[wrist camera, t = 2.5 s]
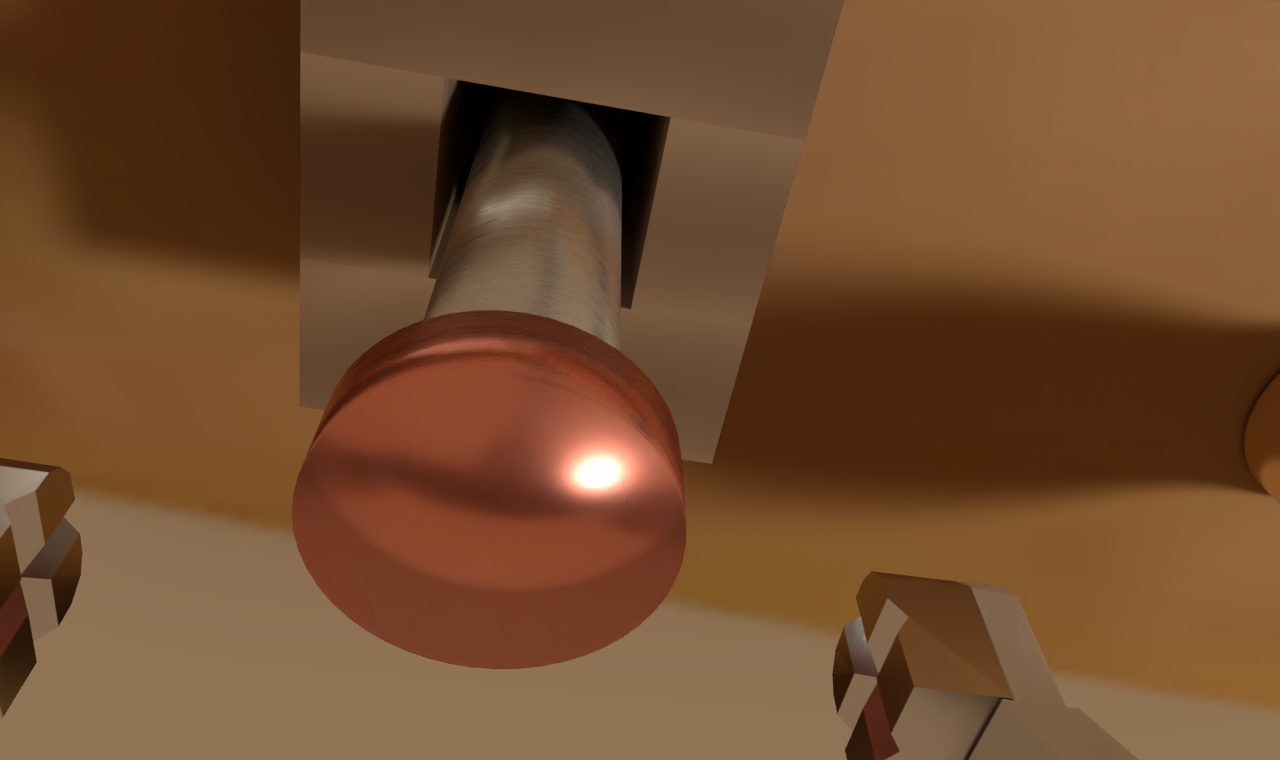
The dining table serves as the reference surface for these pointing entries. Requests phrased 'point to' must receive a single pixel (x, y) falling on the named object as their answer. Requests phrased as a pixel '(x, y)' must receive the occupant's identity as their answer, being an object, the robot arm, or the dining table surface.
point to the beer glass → (1265, 439)
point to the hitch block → (651, 195)
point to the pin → (505, 425)
